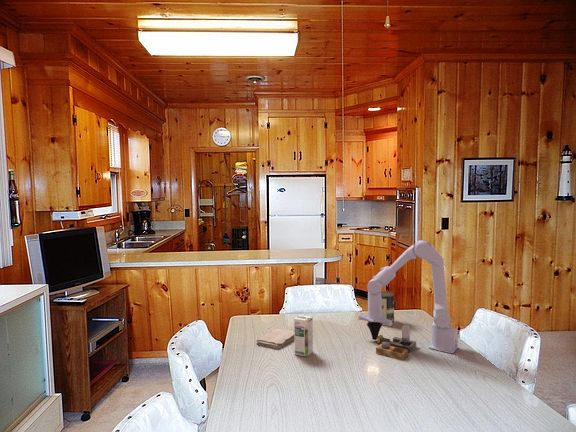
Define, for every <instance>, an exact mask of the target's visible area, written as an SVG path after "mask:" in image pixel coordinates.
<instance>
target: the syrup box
mask: <svg viewBox="0 0 576 432" xmlns="http://www.w3.org/2000/svg"><path fill="white" fill-rule="evenodd" d="M313 318H314V317H313V316H308V315H301V314H299V315H298V316H296V317H295V318H294V319H293V326H294V327H293V331H294V355H295V356H302V357H305V358H308V357H310V356H311V354H312V353H313V352H314V345H313V344H314V342H313V341H314V339H313V337H314V334H313V333H314V329H313V328H314V327H313V326H314V325H313V324H314V322H313V321H314V320H313Z"/></svg>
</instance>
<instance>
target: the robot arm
mask: <svg viewBox="0 0 576 432" xmlns="http://www.w3.org/2000/svg"><path fill="white" fill-rule="evenodd" d="M417 257H418V258H420V259H423V260H425V261H427V263H429V264H431V275H432V287H433V300H434V301H433V302H434V305H433V306H434V309H433V311H432V317H433V322H432V323H431V344H430V345H429V346H428V349H431V350H434V351H440V352H444V353H449V354H454V353H455V352H456V351H457V350H458V348H459V332H458V329H457V328H455V327H453V326H452V324H451V323H452V319H451V316H450V313H449V312H450V311H449V310H448V304H447V293H446V292H447V291H446V278H445V265H444V258H443V256H442V255H441V254H440V253H439V251H438V250H437V249H436V248H435V247H434V246H433V244H432V243H430V242H428V241H427V240H424V239H419V240H417V241H416V242H415V243H414V244H412V245H410V246H409V247H408V248H406V250H404V252H402V254H401V255H399V257H398V258H397V259H396V260H394V262H392V264H391V265H390V266H389V265H387V266H384V267H381V268H380V271H379V272H378V273H377V274H376V275H373V276H372V279H370V280H369V281H368V283H367V286H366V289H367V291H368V292H367V314H362V313H360V314H358V316H357V317H358V321H365V322H367V323H366V326H367V327H368V329H369V331H370V334H371V337H372V340H373V341H377V337H378V336H379V333H380V330H381V329H382V327H383V324H385V325H388V326H389V327H391V326H392V320H389V319H386V318H383V317H382V297H381V291H382V288H384V287H386V286H387V285H388V284H389V283H390V282H391V281H393V280H394V278H396V276H397V275H396V272H398V270H399V269H401V268H402V267H403V266H404V265H405V264H406V263H407V262H409V261H410V260H415V259H417ZM388 326H387V327H388Z"/></svg>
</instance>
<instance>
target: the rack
mask: <svg viewBox="0 0 576 432" xmlns="http://www.w3.org/2000/svg"><path fill="white" fill-rule="evenodd" d="M375 354H378V355H381V356H385V357H388V358H389V357H390V358H392V359H396V360H397V359H398V360H401V361H404V360H405V359H406V358H407V357H408V356H409V353H408V350H405V349H401V348H397V347H393V346H390V343H389V342H382V344H379V345H378V346H376V347H375Z"/></svg>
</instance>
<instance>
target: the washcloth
mask: <svg viewBox="0 0 576 432" xmlns="http://www.w3.org/2000/svg"><path fill="white" fill-rule="evenodd" d="M294 341H295V339H294V330H287V329H282V328H276V329H273V330H272V331H270V332H268V333H266V334H264V335H262V336H260V337H259V338H257V340H256V342H257V343H256V345H259V346H260V345H261V347H264V346H265V347H266V348H270V349H274V350H275V349H276V350H279V349H282V348H284V347H285V346H288V344H290V343H292V342H294Z"/></svg>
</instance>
